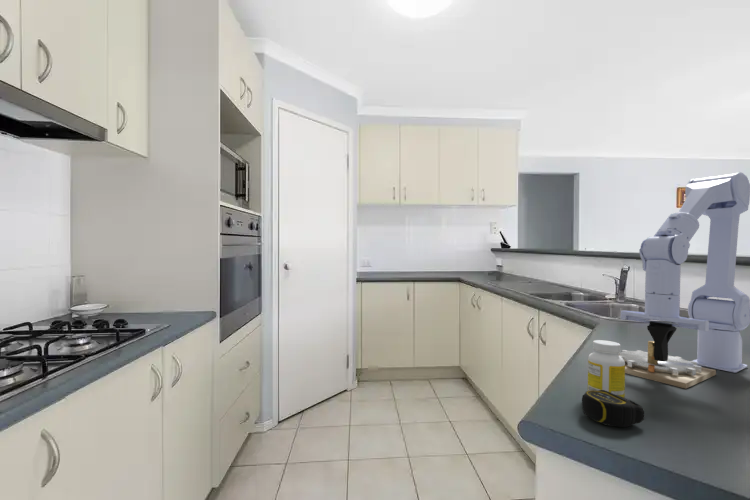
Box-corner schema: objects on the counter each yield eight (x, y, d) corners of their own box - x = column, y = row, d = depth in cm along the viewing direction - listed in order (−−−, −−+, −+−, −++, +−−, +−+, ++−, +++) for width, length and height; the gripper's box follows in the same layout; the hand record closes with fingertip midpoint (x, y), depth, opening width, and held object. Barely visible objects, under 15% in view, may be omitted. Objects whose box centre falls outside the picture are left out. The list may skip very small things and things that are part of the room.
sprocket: (620, 351, 93) (621, 328, 93) (702, 365, 83) (702, 339, 83) (608, 363, 81) (608, 337, 82) (700, 381, 71) (701, 351, 71)
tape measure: (647, 429, 53) (648, 403, 53) (611, 435, 51) (611, 407, 51) (604, 410, 60) (605, 386, 60) (570, 414, 58) (571, 390, 58)
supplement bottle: (625, 399, 64) (626, 342, 65) (623, 409, 60) (625, 348, 60) (589, 391, 68) (590, 337, 68) (585, 400, 63) (586, 342, 63)
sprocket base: (631, 356, 93) (632, 351, 93) (715, 374, 80) (716, 368, 80) (597, 366, 84) (597, 360, 84) (685, 388, 71) (686, 381, 71)
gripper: (614, 290, 81) (613, 353, 81) (700, 298, 69) (698, 372, 69) (629, 290, 85) (627, 350, 84) (712, 297, 73) (711, 367, 72)
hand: (660, 360), depth 77 cm, fingers closed, pressing on sprocket
